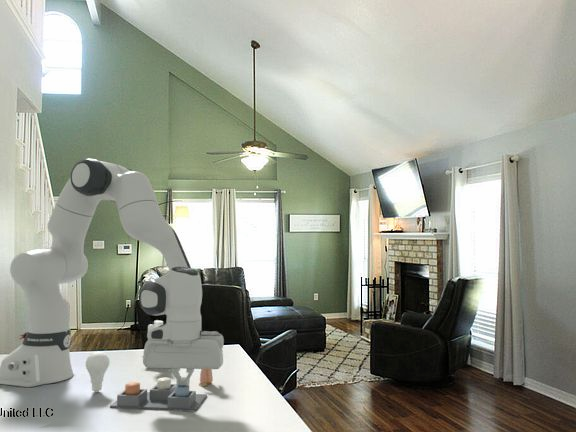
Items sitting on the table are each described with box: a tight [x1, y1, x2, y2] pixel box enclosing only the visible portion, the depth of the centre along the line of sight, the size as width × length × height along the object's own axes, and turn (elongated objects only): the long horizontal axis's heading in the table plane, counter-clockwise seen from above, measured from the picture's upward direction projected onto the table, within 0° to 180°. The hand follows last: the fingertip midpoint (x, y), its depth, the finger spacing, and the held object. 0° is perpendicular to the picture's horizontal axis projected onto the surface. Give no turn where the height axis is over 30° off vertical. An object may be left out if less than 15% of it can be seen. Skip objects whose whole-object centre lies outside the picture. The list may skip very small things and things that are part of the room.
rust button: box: [124, 381, 141, 395], centre depth 120 cm, size 4×4×3 cm
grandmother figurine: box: [198, 369, 214, 387], centre depth 138 cm, size 8×4×13 cm, turn 168°
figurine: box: [141, 319, 164, 358], centre depth 157 cm, size 7×9×15 cm
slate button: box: [175, 385, 190, 397], centre depth 119 cm, size 4×4×3 cm
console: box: [109, 383, 208, 412], centre depth 122 cm, size 22×11×3 cm, turn 86°
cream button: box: [156, 376, 172, 390], centre depth 125 cm, size 4×4×3 cm
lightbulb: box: [85, 351, 110, 393], centre depth 130 cm, size 6×6×11 cm
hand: (183, 385), depth 120 cm, fingers closed
